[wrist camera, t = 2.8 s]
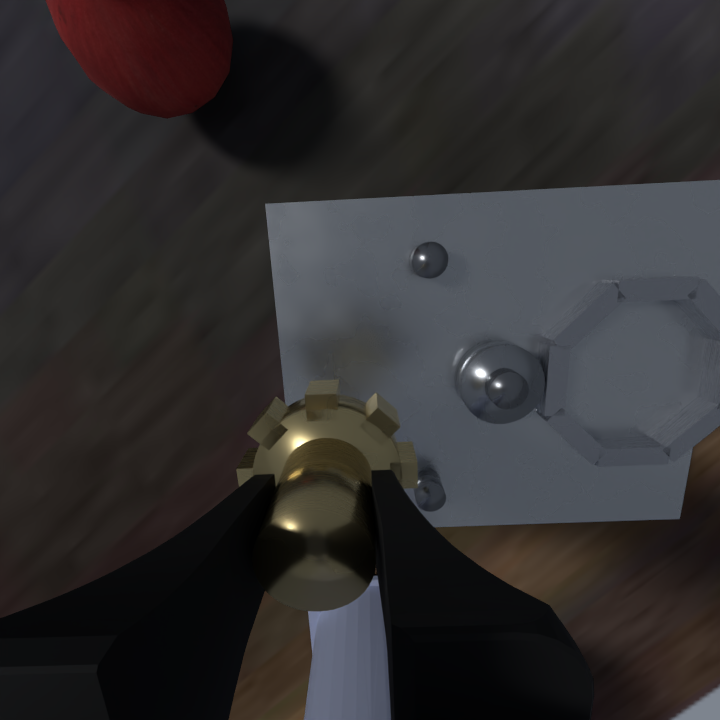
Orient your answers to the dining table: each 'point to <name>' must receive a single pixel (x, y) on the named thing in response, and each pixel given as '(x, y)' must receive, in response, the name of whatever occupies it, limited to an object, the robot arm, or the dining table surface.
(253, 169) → the dining table surface
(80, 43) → the onion
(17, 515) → the dining table surface
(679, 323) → the carrier plate
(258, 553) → the gear
